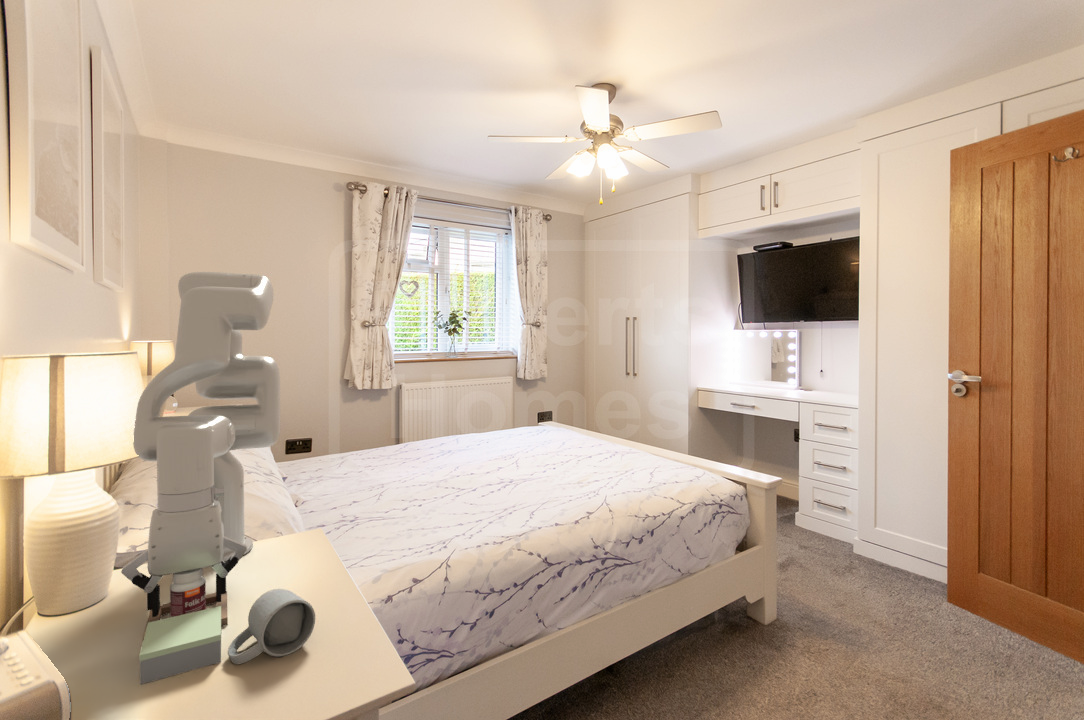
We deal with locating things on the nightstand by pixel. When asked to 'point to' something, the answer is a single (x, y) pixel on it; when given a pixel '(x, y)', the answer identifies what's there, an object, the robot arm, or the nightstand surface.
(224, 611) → the base
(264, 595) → the ceramic mug
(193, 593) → the pill bottle
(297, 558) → the nightstand surface
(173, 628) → the green square block
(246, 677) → the nightstand surface
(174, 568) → the robot arm
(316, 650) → the nightstand surface
